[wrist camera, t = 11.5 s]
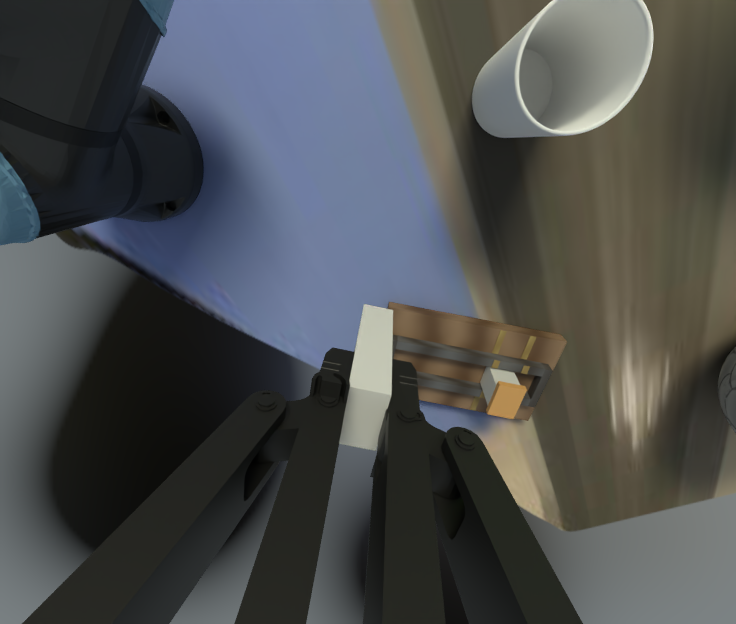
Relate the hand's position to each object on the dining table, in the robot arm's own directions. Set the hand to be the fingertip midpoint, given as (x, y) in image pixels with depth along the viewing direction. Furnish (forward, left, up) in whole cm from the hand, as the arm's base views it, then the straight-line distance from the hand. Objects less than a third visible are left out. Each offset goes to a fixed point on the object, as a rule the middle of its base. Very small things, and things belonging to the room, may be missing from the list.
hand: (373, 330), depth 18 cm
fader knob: (+19, -18, -26) cm, 37 cm away
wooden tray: (+14, -18, -28) cm, 36 cm away
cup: (+10, +15, -28) cm, 34 cm away
